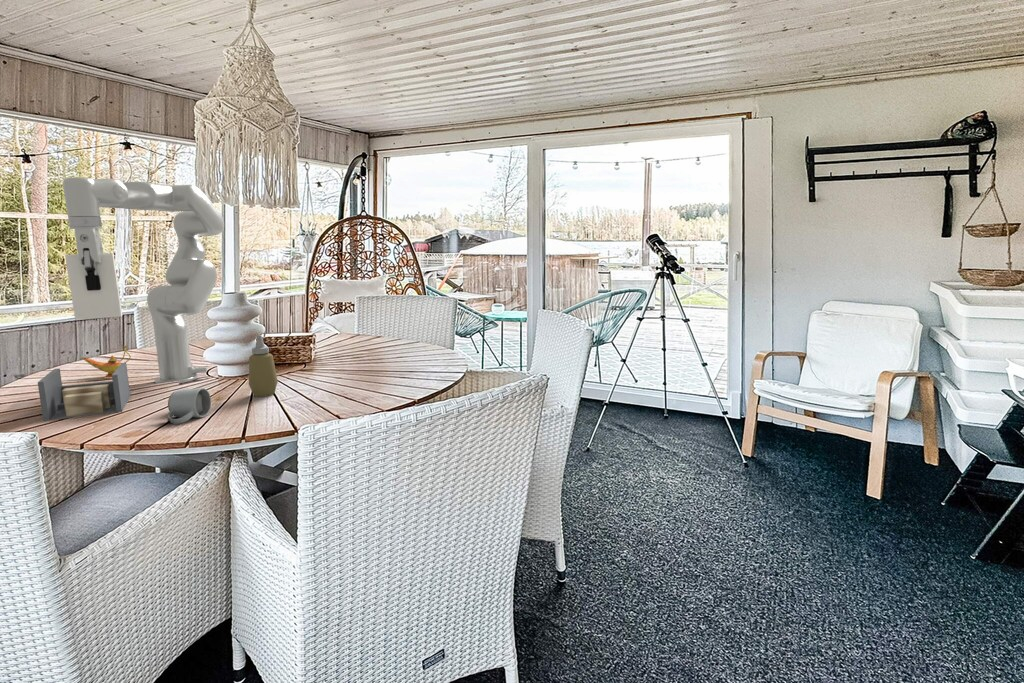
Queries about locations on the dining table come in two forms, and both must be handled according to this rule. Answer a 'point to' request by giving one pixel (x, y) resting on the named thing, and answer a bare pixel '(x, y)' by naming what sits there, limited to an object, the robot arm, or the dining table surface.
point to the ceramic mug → (188, 404)
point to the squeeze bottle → (262, 370)
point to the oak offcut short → (84, 403)
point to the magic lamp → (108, 366)
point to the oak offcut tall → (90, 389)
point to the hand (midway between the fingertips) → (95, 289)
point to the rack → (53, 386)
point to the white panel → (94, 301)
